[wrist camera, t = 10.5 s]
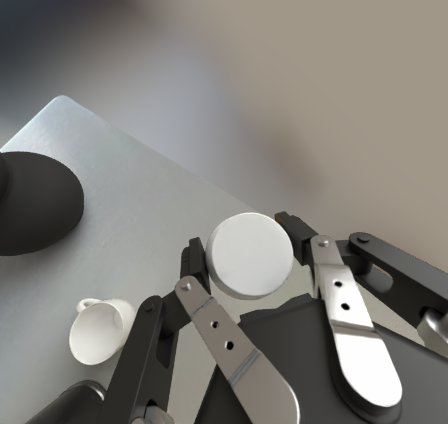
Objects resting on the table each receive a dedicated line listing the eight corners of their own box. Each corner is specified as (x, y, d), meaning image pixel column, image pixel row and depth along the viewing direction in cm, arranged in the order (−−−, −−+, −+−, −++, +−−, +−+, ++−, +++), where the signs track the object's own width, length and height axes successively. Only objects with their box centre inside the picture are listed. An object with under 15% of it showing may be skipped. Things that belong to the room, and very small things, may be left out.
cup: (125, 353, 29) (95, 379, 22) (85, 315, 31) (46, 329, 24) (154, 310, 30) (134, 324, 24) (115, 277, 32) (86, 281, 26)
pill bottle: (277, 258, 20) (332, 253, 9) (240, 298, 19) (255, 345, 8) (239, 221, 21) (250, 181, 11) (203, 256, 20) (174, 251, 10)
